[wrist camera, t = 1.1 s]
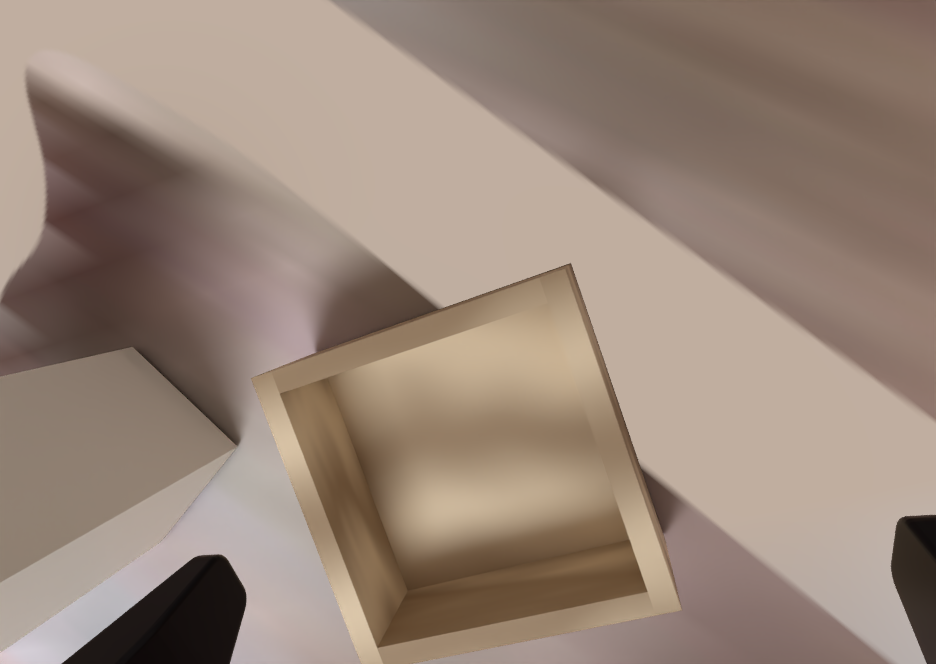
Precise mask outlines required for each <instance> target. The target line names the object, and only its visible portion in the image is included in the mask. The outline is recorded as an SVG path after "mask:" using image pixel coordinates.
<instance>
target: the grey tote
mask: <svg viewBox="0 0 936 664" xmlns="http://www.w3.org/2000/svg"><path fill="white" fill-rule="evenodd" d="M236 448H237V446H236V445H235V444H234V443H233V442H232V441H231V440H230V439H229V438H228V437H227V436H226V435H225V434H224V433H223V432H222V431H221V430H220V429H218V428H217V427H216V426H215V425H214V424H213V423H212V422H211V421H210V420H209V419H208V418H207V417H206V416H205V415H204V414H203V413H202V412H201V411H200V410H198V409H197V408H196V407H195V406H194V405H193V404H192V403H191V402H190V401H189V400H188V399H187V398H186V397H185V396H184V395H183V394H182V393H181V392H180V391H178V390H177V389H176V388H175V387H174V386H173V385H172V384H171V383H170V382H169V381H168V380H167V379H166V378H165V377H164V376H163V375H162V374H161V373H160V372H158V371H157V370H156V369H155V368H154V367H153V366H152V365H151V364H150V363H149V362H148V361H147V360H146V359H145V358H144V357H143V356H142V355H141V354H140V353H138V352H137V351H136V350H135V349H134V348H133V347H130V348H125V349H121V350H116V351H112V352H108V353H103V354H99V355H94V356H90V357H86V358H81V359H77V360H72V361H68V362H63V363H59V364H55V365H50V366H46V367H41V368H37V369H33V370H28V371H24V372H19V373H15V374H10V375H6V376H2V377H0V653H1V652H2V651H4V650H5V649H7V648H8V647H9V646H11V645H12V644H14V643H15V642H17V641H18V640H20V639H21V638H22V637H24V636H25V635H27V634H28V633H30V632H31V631H33V630H34V629H35V628H37V627H38V626H40V625H41V624H43V623H44V622H46V621H47V620H48V619H50V618H51V617H53V616H54V615H56V614H57V613H59V612H60V611H62V610H63V609H64V608H66V607H67V606H69V605H70V604H72V603H73V602H75V601H76V600H77V599H79V598H80V597H82V596H83V595H85V594H86V593H88V592H89V591H90V590H92V589H93V588H95V587H96V586H98V585H99V584H101V583H102V582H103V581H105V580H106V579H108V578H109V577H111V576H112V575H114V574H115V573H116V572H118V571H119V570H121V569H122V568H124V567H125V566H127V565H128V564H129V563H131V562H132V561H134V560H135V559H137V558H138V557H140V556H141V555H143V554H144V553H145V552H147V551H148V550H150V549H151V548H153V547H154V546H156V545H157V544H158V543H160V542H161V541H162V540H163V539H164V537H165V536H166V535H167V534H168V532H169V531H170V530H171V529H172V527H173V526H174V525H175V524H176V522H177V521H178V520H179V519H180V517H181V516H182V515H183V514H184V513H185V511H186V510H187V509H188V508H189V506H190V505H191V504H192V503H193V501H194V500H195V499H196V498H197V496H198V495H199V494H200V493H201V491H202V490H203V489H204V488H205V486H206V485H207V484H208V483H209V481H210V480H211V479H212V478H213V477H214V475H215V474H216V473H217V472H218V470H219V469H220V468H221V467H222V465H223V464H224V463H225V462H226V460H227V459H228V458H229V457H230V455H231V454H232V453H233V452H234V450H235V449H236Z"/></svg>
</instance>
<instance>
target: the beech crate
mask: <svg viewBox="0 0 936 664" xmlns="http://www.w3.org/2000/svg"><path fill="white" fill-rule="evenodd" d="M251 380H252V382H253V385H254V387H255V390H256V393H257V395H258V398H259V400H260V403H261V406H262V408H263V411H264V413H265V416H266V418H267V421H268V424H269V426H270V429H271V431H272V434H273V437H274V439H275V442H276V444H277V447H278V450H279V452H280V455H281V457H282V460H283V462H284V465H285V468H286V470H287V473H288V475H289V478H290V481H291V483H292V486H293V488H294V491H295V494H296V496H297V499H298V501H299V504H300V507H301V509H302V512H303V514H304V517H305V519H306V522H307V525H308V527H309V530H310V532H311V535H312V538H313V540H314V543H315V545H316V548H317V551H318V553H319V556H320V558H321V561H322V564H323V566H324V569H325V571H326V574H327V576H328V579H329V582H330V584H331V587H332V589H333V592H334V595H335V597H336V600H337V602H338V605H339V608H340V610H341V613H342V615H343V618H344V621H345V623H346V626H347V628H348V631H349V633H350V636H351V639H352V641H353V644H354V646H355V649H356V652H357V654H358V657H359V659H360V662H361V664H413V663H418V662H423V661H428V660H433V659H438V658H443V657H448V656H453V655H458V654H463V653H469V652H474V651H479V650H484V649H489V648H494V647H499V646H504V645H509V644H514V643H519V642H524V641H529V640H534V639H539V638H545V637H550V636H555V635H560V634H565V633H570V632H575V631H580V630H585V629H590V628H595V627H600V626H605V625H610V624H615V623H620V622H626V621H631V620H636V619H641V618H646V617H651V616H656V615H661V614H666V613H671V612H676V611H681V610H682V608H681V604H680V600H679V596H678V592H677V587H676V583H675V579H674V575H673V571H672V567H671V562H670V558H669V554H668V550H667V546H666V542H665V538H664V535H663V532H662V529H661V526H660V523H659V520H658V517H657V514H656V512H655V509H654V506H653V503H652V500H651V497H650V494H649V491H648V488H647V485H646V482H645V479H644V476H643V473H642V471H641V468H640V465H639V462H638V459H637V456H636V453H635V450H634V447H633V444H632V442H631V438H630V435H629V432H628V429H627V427H626V424H625V421H624V418H623V415H622V412H621V409H620V406H619V403H618V400H617V397H616V394H615V392H614V389H613V385H612V383H611V380H610V377H609V374H608V371H607V368H606V365H605V362H604V359H603V356H602V353H601V351H600V348H599V344H598V341H597V339H596V336H595V333H594V330H593V327H592V324H591V321H590V318H589V315H588V312H587V309H586V306H585V303H584V300H583V298H582V295H581V292H580V289H579V286H578V283H577V280H576V277H575V274H574V271H573V268H572V265H571V264H567V265H564V266H561V267H559V268H556V269H553V270H550V271H547V272H545V273H542V274H539V275H536V276H533V277H530V278H527V279H525V280H522V281H519V282H516V283H513V284H510V285H508V286H505V287H502V288H499V289H496V290H494V291H490V292H488V293H485V294H482V295H479V296H476V297H473V298H471V299H468V300H465V301H462V302H459V303H457V304H453V305H450V306H448V307H445V308H442V309H439V310H436V311H433V312H431V313H428V314H425V315H422V316H419V317H416V318H414V319H411V320H408V321H405V322H402V323H399V324H396V325H394V326H391V327H388V328H385V329H382V330H379V331H377V332H374V333H371V334H368V335H365V336H362V337H359V338H357V339H354V340H351V341H348V342H345V343H342V344H340V345H337V346H334V347H331V348H328V349H325V350H322V351H320V352H317V353H314V354H311V355H309V356H306V357H304V358H301V359H299V360H296V361H294V362H291V363H289V364H286V365H283V366H281V367H278V368H276V369H273V370H271V371H268V372H266V373H263V374H261V375H258V376H256V377H253V378H251Z"/></svg>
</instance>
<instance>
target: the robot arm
mask: <svg viewBox="0 0 936 664" xmlns="http://www.w3.org/2000/svg"><path fill="white" fill-rule="evenodd" d="M891 571H892V577H893V580H894V584H895V586H896V589H897V591H898V594H899V596H900V599H901V601H902V604H903V606H904V609H905V611H906V614H907V616H908V619H909V621H910V623H911V626H912V628H913V631H914V633H915V636H916V638H917V640H918V643H919V646H920V648H921V651H922V653H923V655H924V658H925V660H926V663H927V664H936V515H922V516H905V517H902V518H901V519H899V521H898V522H897V525H896V531H895V539H894V546H893V553H892V561H891ZM245 607H246V592H245V589H244V587H243V585H242V583H241V581H240V580H239V578H238V576H237V575H236V573H235V571H234V570H233V568H232V566H231V564H230V563H229V561H228V560H227V558H226V557H224V556H223V555H219V554H217V555H201V556H197V557H195V558H193V559H191V560H190V561H189V562H188V563H186V564H185V565H184V566H183V567H181V568H180V569H179V570H178V571H176V572H175V573H174V574H173V575H171V576H170V577H169V578H168V579H166V580H165V581H164V582H163V583H161V584H160V585H159V586H158V587H156V588H155V589H154V590H153V591H151V592H150V593H149V594H148V595H147V596H145V597H144V598H143V599H142V600H140V601H139V602H138V603H137V604H135V605H134V606H133V607H132V608H130V609H129V610H128V611H127V612H125V613H124V614H123V615H122V616H120V617H119V618H118V619H117V620H115V621H114V622H113V623H112V624H110V625H109V626H108V627H107V628H105V629H104V630H103V631H102V632H100V633H99V634H98V635H97V636H95V637H94V638H93V639H92V640H91V641H89V642H88V643H87V644H86V645H84V646H83V647H82V648H81V649H79V650H78V651H77V652H76V653H74V654H73V655H72V656H71V657H69V658H68V659H67V660H66V661H64V662H63V663H62V664H230V661H231V657H232V654H233V650H234V647H235V643H236V640H237V636H238V632H239V629H240V625H241V622H242V618H243V615H244V611H245Z"/></svg>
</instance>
